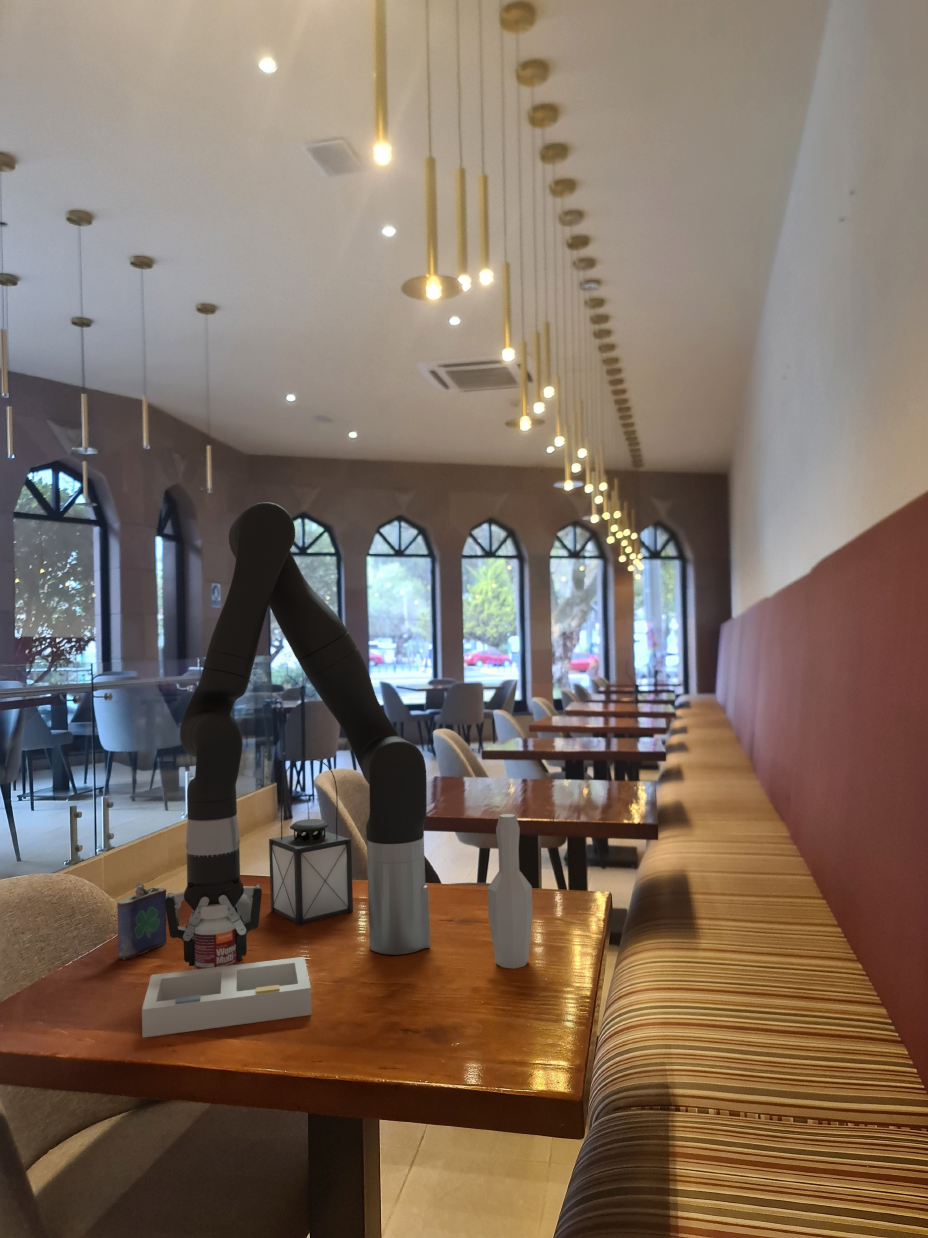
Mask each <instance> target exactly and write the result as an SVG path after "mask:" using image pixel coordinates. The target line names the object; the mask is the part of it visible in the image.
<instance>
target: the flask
mask: <svg viewBox="0 0 928 1238" xmlns="http://www.w3.org/2000/svg"><path fill="white" fill-rule="evenodd" d="M135 887H136V889H135V891H134V892H135V895H134V894H133V895H132V896H129V897H126V898H124V899H122V900H119V901H118V902H117V903H116V904H117V906H116V907H117V958H118V959H119V960H123V961H125V960H127V959H133V958H135V957H136V956H139V955H142V954H145V953H146V952H147V953H148V952H149V951H150V950H154V949H155V948H158V947H161V946H163V945H166V944H167V913H166V906H165V899H166V896H167V889H166V888H162V887H154V886H153V887H150V888H148V889H147V888H145V887H146V885H145V884H144V883H141V882H138V883H136V884H135V885H133V888H135Z"/></svg>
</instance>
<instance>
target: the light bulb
mask: <svg viewBox="0 0 928 1238" xmlns="http://www.w3.org/2000/svg"><path fill="white" fill-rule="evenodd" d="M251 906H252V902H249V901H248V900H247V896H246V895H245V894H243V895H242V896H241V898H240V899H239V901H238V902H237V904H236V907H237V908H238V910H239V912H240V915H241V916H242V918H243V920H244V921H246V920H249V919H250V916H251Z"/></svg>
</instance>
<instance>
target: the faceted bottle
mask: <svg viewBox="0 0 928 1238" xmlns="http://www.w3.org/2000/svg"><path fill="white" fill-rule="evenodd" d="M498 816H499V817H498V820H497V825H496V827H495V833H496V840H497V841H496V843H497V848H498V851H497V852H498V872H497V873H496V875H495V876H494V878H492V881H491V882H490V883H489V885H488V886H487V909H488V913H487V914H488V915H487V916H488V922H489V928H490V935H491V940H492V941H491V942H492V947H493V953H494V954H493V956H494V958H495V959H494V961H495V964H496V965H498V966H499V967H501V968H507V969H518V968H523V967H525V966H526V965H527V964H528V963H529V957H530V948H531V947H530V946H531V937H532V936H531V935H532V927H533V926H532V925H533V911H534V910H533V886H532V885H531V883H530V882H529V881H528V879H527V878H526V876H524V874H523V873H522V872H521V870H520V854H519V848H520V831H521V828H520V824H519V822H518V819H517V816H516V815H515V814H511V813H503V814H500V815H498Z"/></svg>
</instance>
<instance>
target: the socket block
mask: <svg viewBox="0 0 928 1238" xmlns="http://www.w3.org/2000/svg"><path fill="white" fill-rule="evenodd" d="M307 967H308V966H307V963H306V958H305V956H299V957H291V958H281V959H275V960H274V959H273V960H265V961H257V962H256V961H255V962H250V963H249V962H248V963H239V964H238V965H230V966H222V967H213V968H205V969H197V970H194V969H189V970H181V971H172V972H166V973H157V974H156V973H155V974H150V979H149V983H148V986H147V990H146V993H145V996H144V997H145V998H144V1000H143V1003H142V1009H141V1025H142V1026H141V1027H142V1029H141V1032H142V1033H141V1034H142V1038H144V1039H145V1038H151V1037H158V1036H165V1035H172V1034H174V1035H175V1034H179V1033H186V1032H187V1033H188V1032H194V1031H201V1030H210V1029H215V1028H217V1029H219V1028H225V1027H231V1026H238V1025H245V1024H254V1023H260V1022H261V1023H262V1022H267V1021H269V1022H271V1021H277V1020H284V1019H290V1018H291V1019H292V1018H297V1017H305V1016H312V987H311V983H310V978H309V972H308V968H307Z"/></svg>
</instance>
